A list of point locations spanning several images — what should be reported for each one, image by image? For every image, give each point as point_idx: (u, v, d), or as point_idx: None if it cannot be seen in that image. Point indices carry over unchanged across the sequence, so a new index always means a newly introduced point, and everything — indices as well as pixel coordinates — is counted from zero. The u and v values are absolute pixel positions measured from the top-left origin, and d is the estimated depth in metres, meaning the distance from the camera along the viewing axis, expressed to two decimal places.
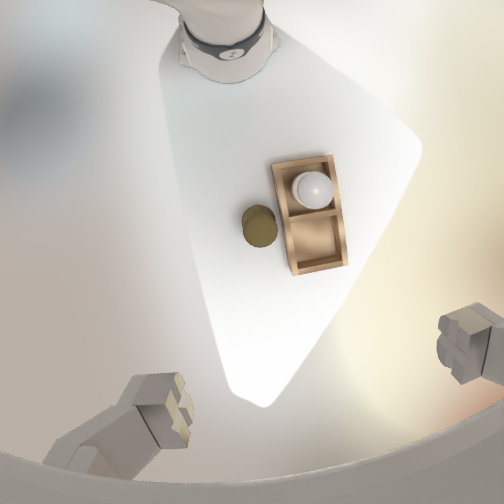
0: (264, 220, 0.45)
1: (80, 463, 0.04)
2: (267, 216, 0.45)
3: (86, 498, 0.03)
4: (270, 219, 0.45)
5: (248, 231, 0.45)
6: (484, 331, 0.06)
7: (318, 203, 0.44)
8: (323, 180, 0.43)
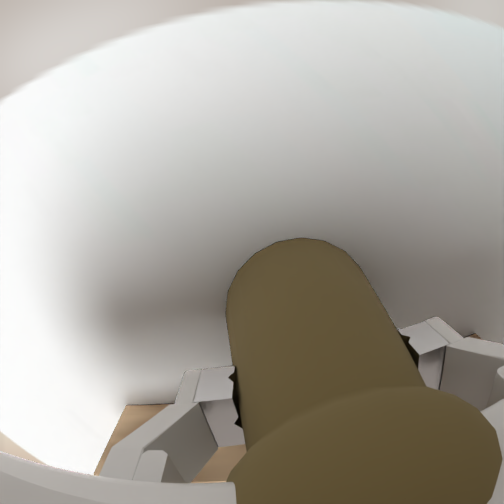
0: None
1: (149, 471, 0.04)
2: None
3: (86, 498, 0.03)
4: None
5: None
6: (437, 350, 0.06)
7: None
8: None
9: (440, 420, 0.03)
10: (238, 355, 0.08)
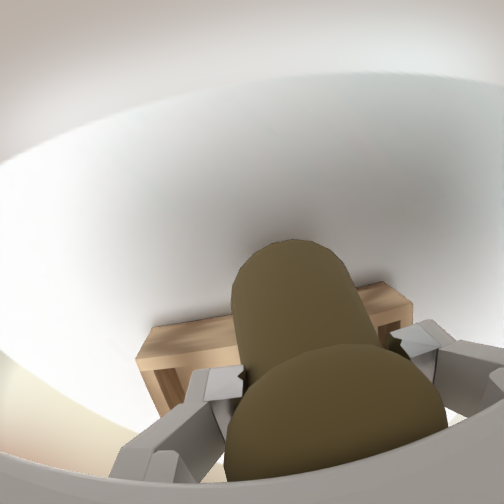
0: None
1: (161, 472, 0.04)
2: None
3: (86, 498, 0.03)
4: None
5: (378, 447, 0.04)
6: (429, 353, 0.06)
7: None
8: None
9: (373, 361, 0.05)
10: (241, 333, 0.10)
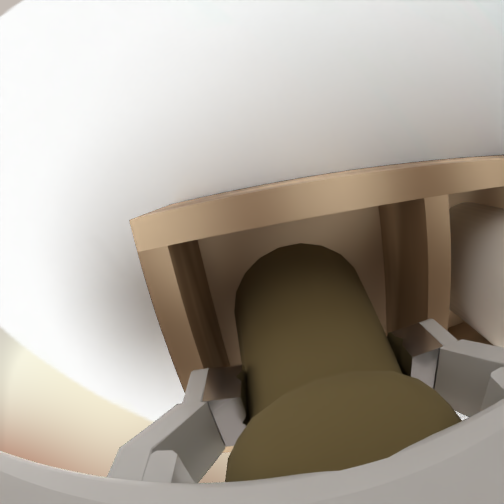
0: None
1: (159, 471, 0.04)
2: None
3: (86, 498, 0.03)
4: None
5: None
6: (430, 353, 0.06)
7: None
8: None
9: (395, 395, 0.04)
10: (245, 347, 0.09)
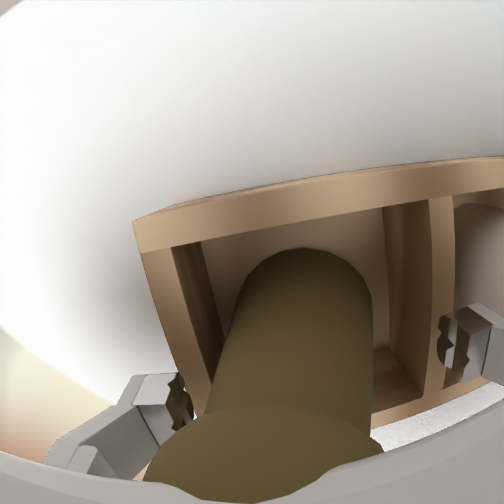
0: None
1: (80, 463, 0.04)
2: None
3: (86, 498, 0.03)
4: None
5: None
6: (484, 331, 0.06)
7: None
8: None
9: (294, 448, 0.04)
10: (221, 354, 0.09)
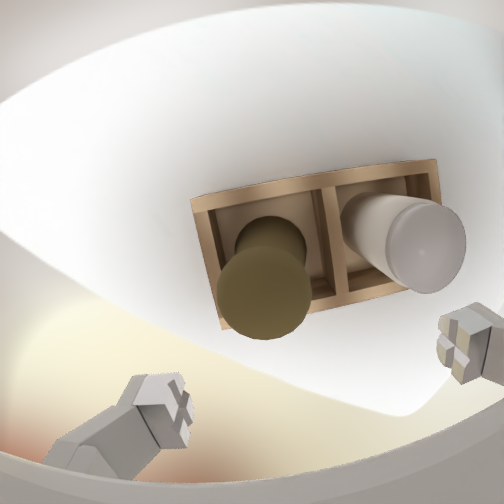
0: (295, 312, 0.15)
1: (80, 463, 0.04)
2: (305, 315, 0.16)
3: (86, 498, 0.03)
4: (297, 324, 0.16)
5: (262, 271, 0.15)
6: (484, 331, 0.06)
7: (407, 256, 0.15)
8: (451, 266, 0.16)
9: (267, 247, 0.16)
10: None
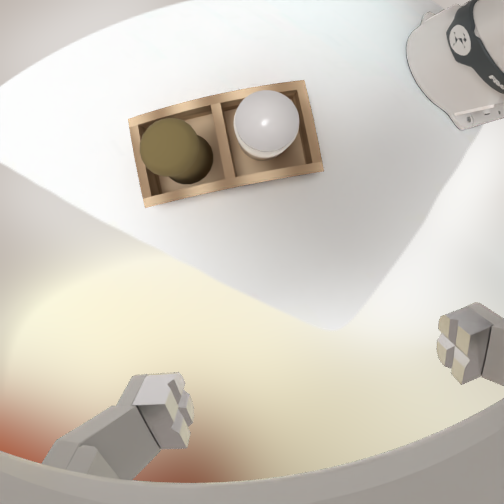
0: (185, 146, 0.23)
1: (80, 463, 0.04)
2: (193, 152, 0.24)
3: (86, 498, 0.03)
4: (188, 158, 0.24)
5: (164, 123, 0.23)
6: (484, 331, 0.06)
7: (244, 122, 0.23)
8: (286, 131, 0.24)
9: None
10: None
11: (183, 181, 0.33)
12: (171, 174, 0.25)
